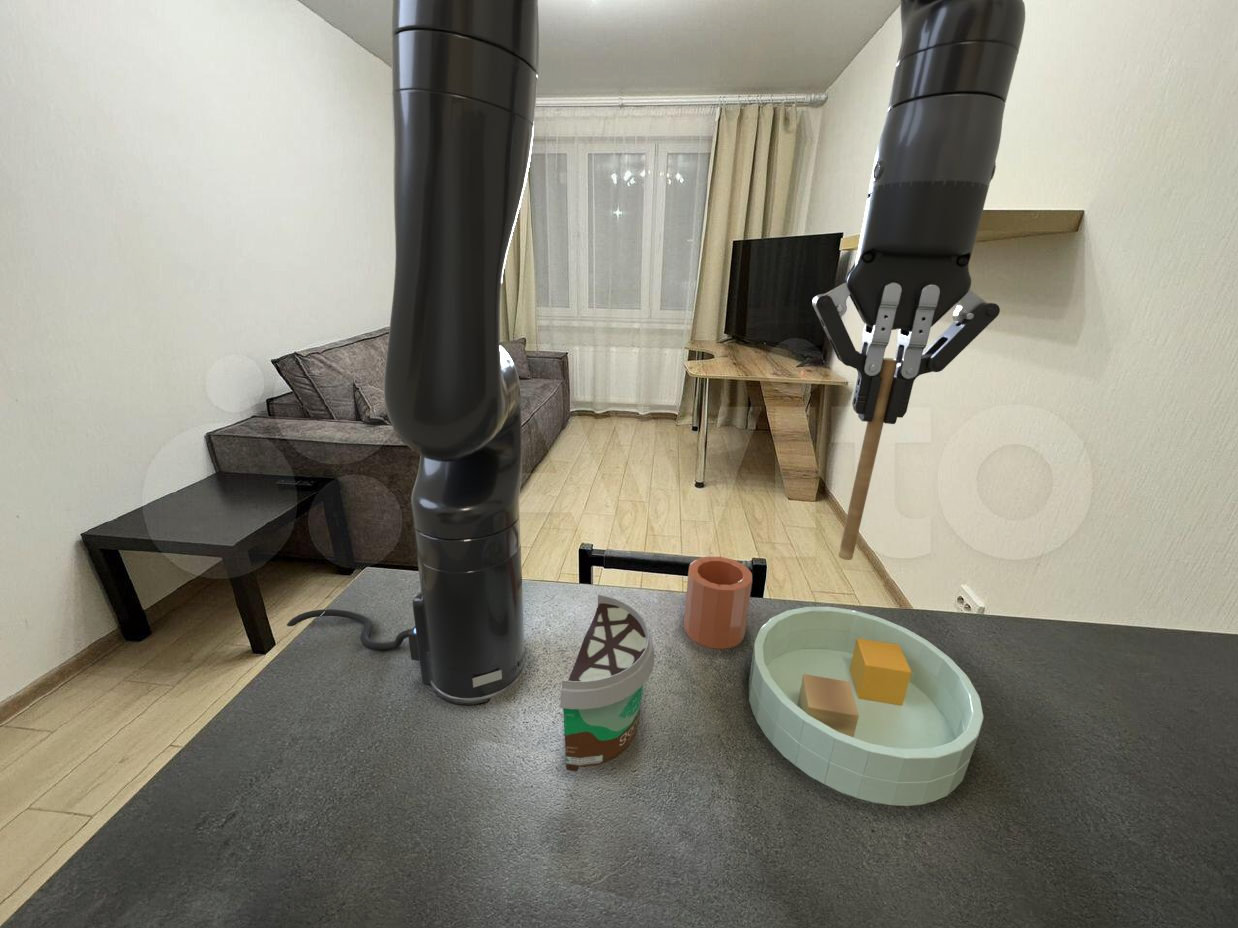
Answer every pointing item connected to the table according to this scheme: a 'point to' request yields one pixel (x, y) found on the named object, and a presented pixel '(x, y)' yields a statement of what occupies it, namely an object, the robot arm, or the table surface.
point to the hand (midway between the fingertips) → (875, 419)
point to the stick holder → (717, 602)
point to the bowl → (865, 709)
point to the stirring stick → (867, 461)
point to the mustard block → (880, 671)
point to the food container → (606, 685)
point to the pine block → (829, 703)
